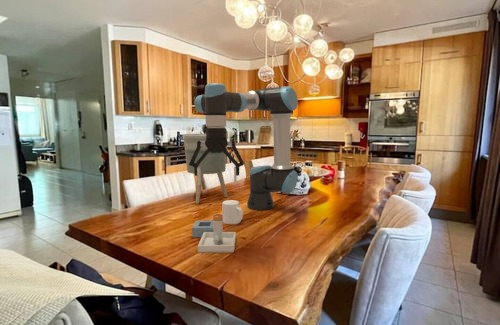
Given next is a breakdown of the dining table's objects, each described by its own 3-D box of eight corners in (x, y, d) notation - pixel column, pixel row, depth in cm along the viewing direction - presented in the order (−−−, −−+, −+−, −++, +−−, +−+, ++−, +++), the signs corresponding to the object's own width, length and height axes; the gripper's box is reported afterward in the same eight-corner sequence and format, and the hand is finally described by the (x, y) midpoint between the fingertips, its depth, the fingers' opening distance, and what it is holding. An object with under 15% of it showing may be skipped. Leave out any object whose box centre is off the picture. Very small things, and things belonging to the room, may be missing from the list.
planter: (236, 196, 177) (236, 133, 172) (209, 207, 155) (207, 135, 150) (205, 191, 191) (204, 133, 186) (176, 200, 169) (173, 134, 164)
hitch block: (216, 229, 122) (216, 220, 122) (214, 237, 113) (213, 228, 113) (196, 229, 122) (196, 220, 122) (192, 237, 113) (191, 228, 113)
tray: (235, 237, 113) (235, 232, 112) (233, 252, 100) (233, 245, 99) (204, 237, 113) (204, 232, 112) (198, 252, 100) (197, 245, 100)
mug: (217, 202, 131) (230, 198, 137) (218, 221, 133) (230, 217, 138) (235, 207, 123) (247, 203, 129) (235, 227, 125) (247, 222, 130)
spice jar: (223, 241, 108) (223, 214, 107) (222, 245, 104) (222, 217, 103) (214, 241, 108) (213, 214, 107) (212, 245, 104) (212, 217, 103)
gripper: (250, 127, 105) (250, 181, 107) (184, 127, 105) (186, 182, 107) (250, 127, 97) (250, 186, 100) (179, 127, 97) (181, 186, 100)
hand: (217, 184), depth 104 cm, fingers open, 13 cm apart
